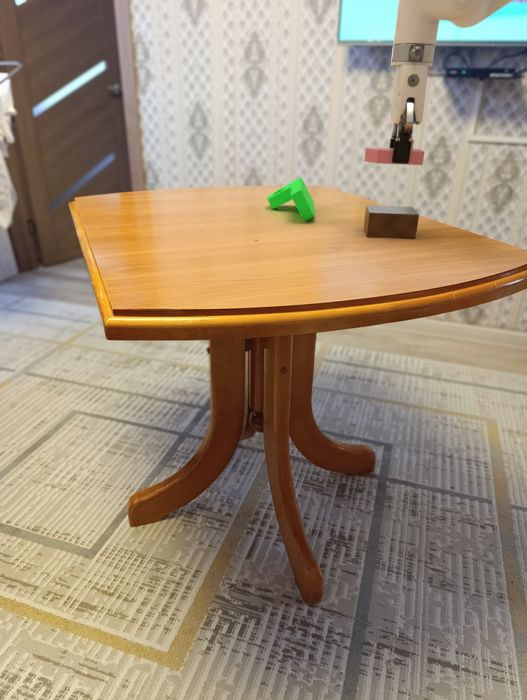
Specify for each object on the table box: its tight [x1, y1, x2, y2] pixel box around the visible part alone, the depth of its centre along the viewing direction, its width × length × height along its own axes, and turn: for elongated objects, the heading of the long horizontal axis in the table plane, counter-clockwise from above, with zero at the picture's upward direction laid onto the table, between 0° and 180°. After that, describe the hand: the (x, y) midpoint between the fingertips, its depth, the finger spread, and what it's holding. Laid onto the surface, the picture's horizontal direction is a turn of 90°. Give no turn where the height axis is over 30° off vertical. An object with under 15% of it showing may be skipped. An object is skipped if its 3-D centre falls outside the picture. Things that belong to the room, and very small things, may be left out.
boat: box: [363, 138, 426, 166], centre depth 101 cm, size 11×5×4 cm, turn 85°
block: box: [363, 204, 420, 240], centre depth 108 cm, size 10×8×5 cm
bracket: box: [266, 176, 316, 222], centre depth 123 cm, size 20×10×7 cm
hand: (398, 160), depth 102 cm, fingers closed on boat, 5 cm apart
